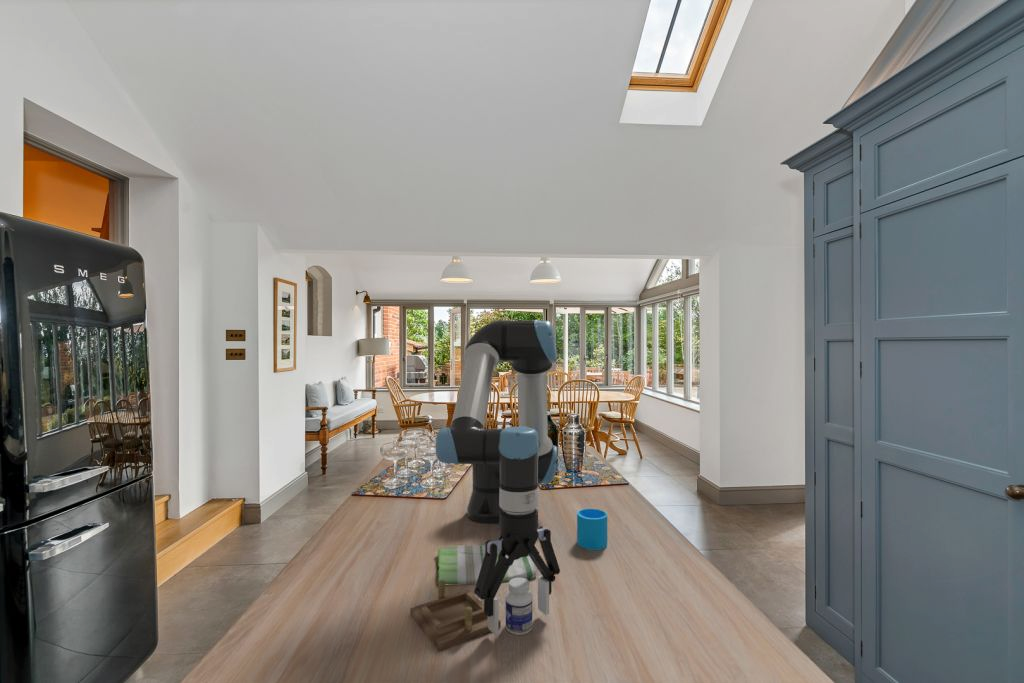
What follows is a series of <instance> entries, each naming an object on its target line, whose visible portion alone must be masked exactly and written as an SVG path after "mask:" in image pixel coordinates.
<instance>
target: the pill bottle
mask: <svg viewBox="0 0 1024 683" xmlns="http://www.w3.org/2000/svg"><path fill="white" fill-rule="evenodd" d="M505 628H506V631H508V632H509V633H510V634H512V635H515V636H524V635H526V634H528V633H530V632H531V631H532V629H533V594H532V592H531V591H530V581H529V579H524V578H513V579H511V580H510V581H509V582H508V591H507V593H506V594H505Z"/></svg>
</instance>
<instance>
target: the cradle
mask: <svg viewBox="0 0 1024 683" xmlns="http://www.w3.org/2000/svg"><path fill="white" fill-rule="evenodd" d="M437 582H438V583H437V586H438V588H437V589H438V590H437V596H438V597H437V598H438V599H434V600H431V601H428V602H425V603H423V604H419V605H415V606H413V607H412V606H411V607H410V610H409V611H410V613H411V614H410V616H411V617H412V616H413V617H412V618H413V619H414V621H415V620H416V621H415V622H416V623H417V624H418V625H419V628H421V629H422V631H423V632H424V634H426V636H427V638H429V640H430V642H432V644H433V645H434V646H435V648H436V650H438V651H439V652H440V651H442V650H446V649H448V648H450V647H451V648H452V647H453V646H455V645H459V644H461V643H464V642H467V641H469V640H472V639H473V638H477V637H479V636H483V635H485V634H487V633H490V632H491V631H490V630H489V629H488V616H487V615H486V614H485V612H484V602H482V601H481V599H480V598H479V597H477V596H476V595H474V593H472V592H471V591H470V590H469V589H466V590H462V591H460V592H456V593H453V594H450V595H447V596H446V585H445V581H444V580H440V581H438V580H437ZM501 624H502V623H501V620H500V619H499V618H498V629H500V628H501Z"/></svg>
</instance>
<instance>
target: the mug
mask: <svg viewBox="0 0 1024 683" xmlns="http://www.w3.org/2000/svg"><path fill="white" fill-rule="evenodd" d="M576 543H577V545H578V546H579V547H580V548H583V549H586V550H592V551H594V550H595V551H597V550H599V551H600V550H603V549H605V548H606V547H608V513H607V512H606V511H604V510H602V509H598V508H582V509H579V510H577V513H576Z"/></svg>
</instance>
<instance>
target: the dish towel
mask: <svg viewBox="0 0 1024 683" xmlns="http://www.w3.org/2000/svg"><path fill="white" fill-rule="evenodd" d="M501 549H502V548H501V547H500V549H499V553H500V551H501ZM437 554H438V555H437V558H438V559H437V560H438V562H437V568H438V567H439V570H438V571H437V573H438V576H439V577H438V578H437V584H438V581H440V580H444V581H445V584H459V585H475V584H476V583H477V580H478V577H479V573H480V570H481V566H482V563H483V559H484V556H485V544H483V545H482V544H481V545H473V544H472V545H471V544H470V545H469V544H467V545H466V544H465V545H456V546H455V545H453V546H446V547H445V546H443V547H438V550H437ZM498 555H499V554H497V560H496V563H497V561H498ZM508 557H509V556H507V555H506V558H508ZM495 565H496V564H495ZM536 571H537V570H536V567H535V564H534V562H533V561H532V559H531V558H530V556H529V555H528V556H527V557H521V558H519V559H517V560H514V562H513V564H512V565H511V566H509V568H508V570H507V573H506V575H505V577H504V579H503V581H502V583H506V582H507V583H509V581H510V580H511V579H513V578H524V579H527V580H534V578H537V572H536Z"/></svg>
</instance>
